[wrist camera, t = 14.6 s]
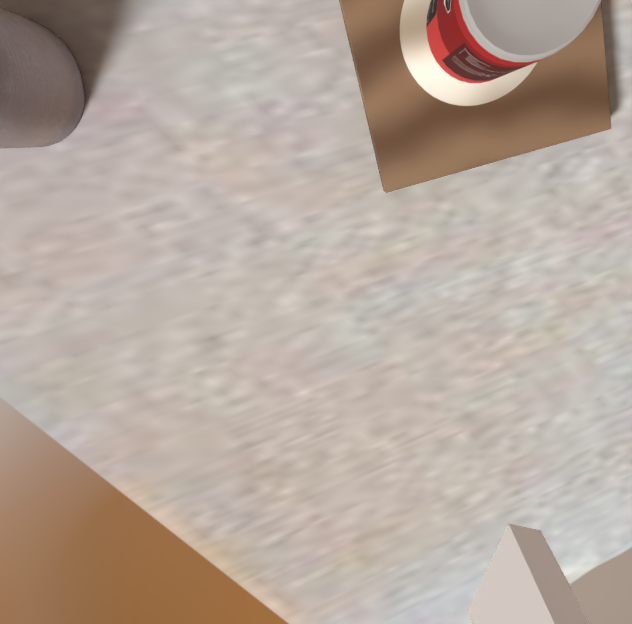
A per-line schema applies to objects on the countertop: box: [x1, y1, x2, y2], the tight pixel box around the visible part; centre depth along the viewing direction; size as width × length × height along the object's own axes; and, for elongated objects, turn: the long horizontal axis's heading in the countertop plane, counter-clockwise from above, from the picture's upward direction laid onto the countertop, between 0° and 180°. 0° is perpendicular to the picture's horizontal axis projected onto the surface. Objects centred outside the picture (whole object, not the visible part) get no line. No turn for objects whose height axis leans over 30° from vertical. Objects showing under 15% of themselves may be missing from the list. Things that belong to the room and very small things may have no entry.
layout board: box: [339, 0, 611, 193], centre depth 37 cm, size 20×18×2 cm
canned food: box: [426, 0, 601, 83], centre depth 30 cm, size 8×8×11 cm
